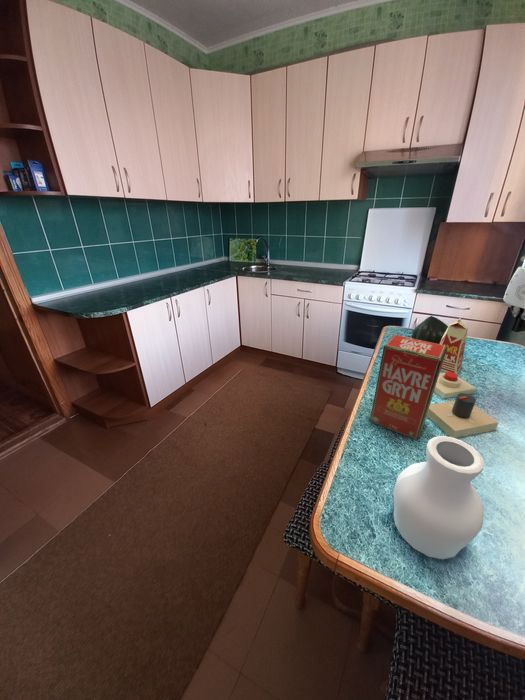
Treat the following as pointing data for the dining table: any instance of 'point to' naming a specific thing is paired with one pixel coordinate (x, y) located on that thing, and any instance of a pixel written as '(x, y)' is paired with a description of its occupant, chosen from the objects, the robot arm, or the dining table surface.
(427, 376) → the food packaging
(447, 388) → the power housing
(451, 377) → the power button
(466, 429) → the panel
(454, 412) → the timer dial
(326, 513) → the dining table surface
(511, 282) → the robot arm
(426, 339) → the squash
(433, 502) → the vase
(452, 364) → the milk carton
